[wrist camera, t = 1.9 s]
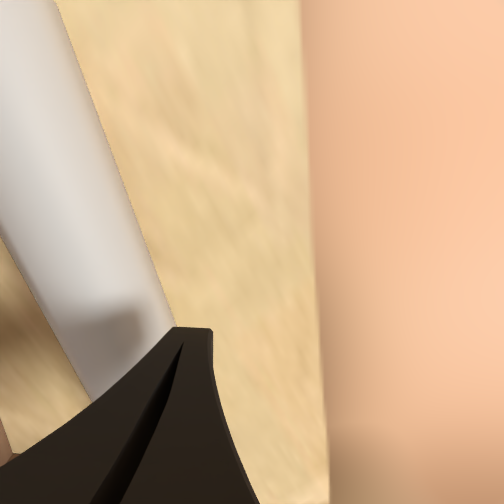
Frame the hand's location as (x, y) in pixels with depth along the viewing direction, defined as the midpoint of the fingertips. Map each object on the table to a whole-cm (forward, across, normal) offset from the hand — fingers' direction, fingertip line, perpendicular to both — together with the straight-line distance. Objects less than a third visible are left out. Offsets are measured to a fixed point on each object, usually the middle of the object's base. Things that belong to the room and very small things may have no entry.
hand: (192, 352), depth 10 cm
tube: (+7, +5, 0) cm, 9 cm away
